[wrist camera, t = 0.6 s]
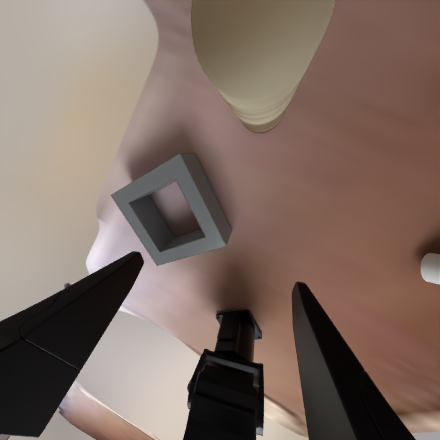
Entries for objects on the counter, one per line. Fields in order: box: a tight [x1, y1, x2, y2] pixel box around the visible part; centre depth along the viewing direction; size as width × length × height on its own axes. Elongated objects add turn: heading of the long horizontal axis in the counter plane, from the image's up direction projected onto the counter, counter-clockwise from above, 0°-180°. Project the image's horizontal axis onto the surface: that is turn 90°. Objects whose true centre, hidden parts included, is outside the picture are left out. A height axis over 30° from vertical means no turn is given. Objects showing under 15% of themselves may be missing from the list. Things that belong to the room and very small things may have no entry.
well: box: [111, 153, 232, 266], centre depth 21 cm, size 11×11×4 cm
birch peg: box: [191, 0, 335, 133], centre depth 11 cm, size 4×4×12 cm
